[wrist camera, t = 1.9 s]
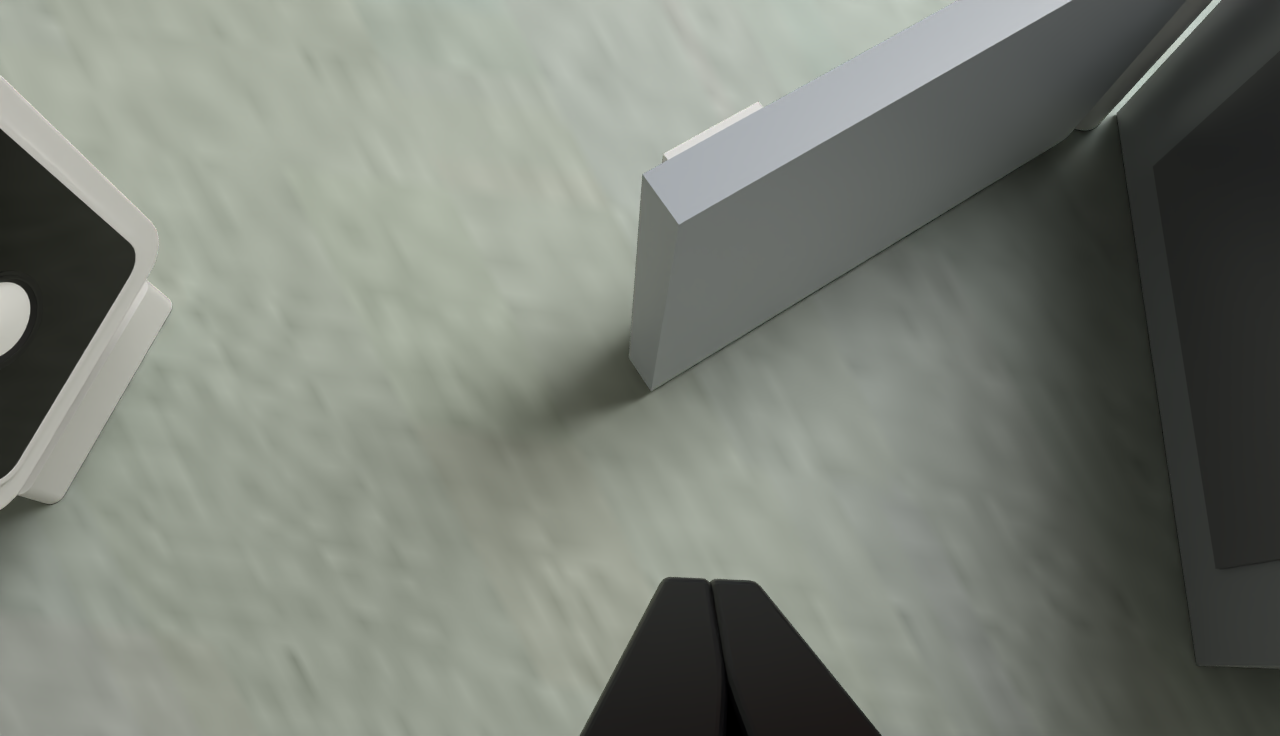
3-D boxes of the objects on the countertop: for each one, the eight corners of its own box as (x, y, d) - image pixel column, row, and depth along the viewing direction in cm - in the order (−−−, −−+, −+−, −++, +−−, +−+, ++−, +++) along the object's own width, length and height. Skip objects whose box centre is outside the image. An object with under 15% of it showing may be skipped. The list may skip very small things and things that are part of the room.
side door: (1022, 89, 25) (1230, -198, 17) (1065, 138, 24) (1300, -131, 16) (611, 331, 22) (614, 135, 14) (651, 391, 22) (678, 225, 14)
